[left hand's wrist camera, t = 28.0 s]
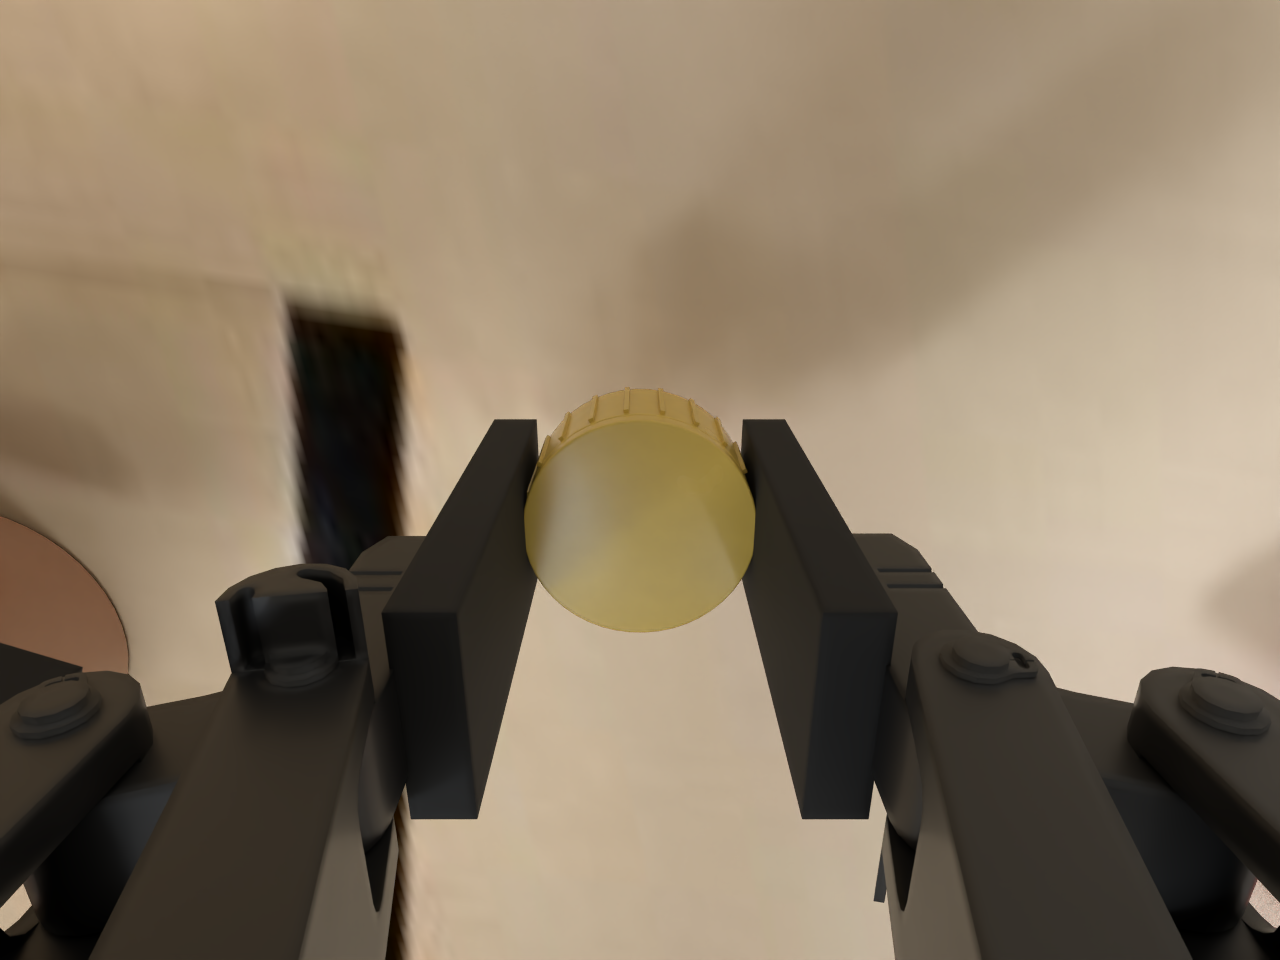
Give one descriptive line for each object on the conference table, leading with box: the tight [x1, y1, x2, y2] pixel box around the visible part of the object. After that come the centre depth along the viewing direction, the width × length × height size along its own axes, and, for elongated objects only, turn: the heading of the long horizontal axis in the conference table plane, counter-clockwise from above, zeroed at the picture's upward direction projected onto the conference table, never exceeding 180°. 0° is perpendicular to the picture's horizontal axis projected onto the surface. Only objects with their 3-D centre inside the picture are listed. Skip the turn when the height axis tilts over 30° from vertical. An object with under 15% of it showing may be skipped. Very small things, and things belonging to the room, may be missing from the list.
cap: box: [524, 387, 756, 632], centre depth 13 cm, size 4×4×2 cm
